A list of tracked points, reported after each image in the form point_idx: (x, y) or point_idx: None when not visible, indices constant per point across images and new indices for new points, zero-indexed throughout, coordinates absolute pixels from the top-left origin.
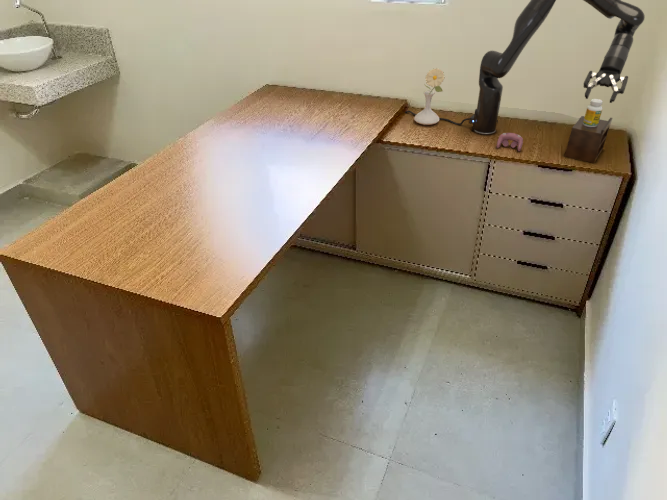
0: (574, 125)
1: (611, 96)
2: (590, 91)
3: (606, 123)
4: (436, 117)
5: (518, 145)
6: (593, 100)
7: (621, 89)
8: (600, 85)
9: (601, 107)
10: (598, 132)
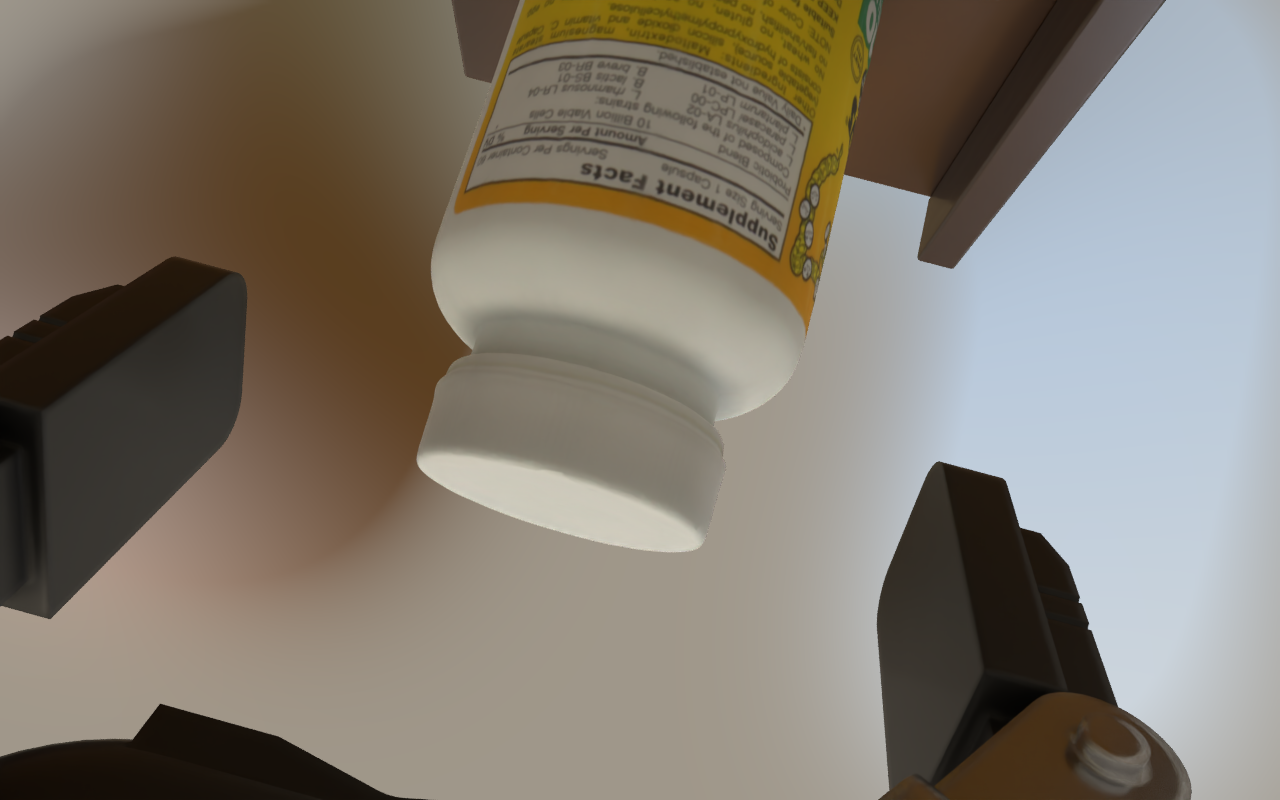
0: (459, 2)
1: (886, 693)
2: (84, 423)
3: (1063, 62)
4: None
5: None
6: (481, 490)
7: None
8: (183, 748)
9: (752, 405)
10: (896, 177)
